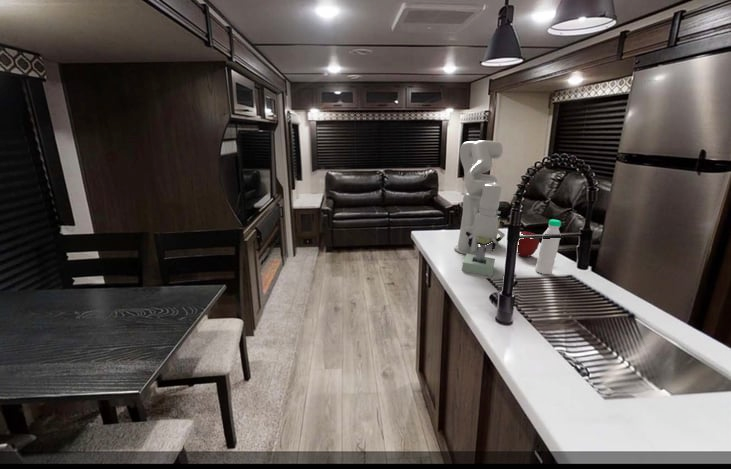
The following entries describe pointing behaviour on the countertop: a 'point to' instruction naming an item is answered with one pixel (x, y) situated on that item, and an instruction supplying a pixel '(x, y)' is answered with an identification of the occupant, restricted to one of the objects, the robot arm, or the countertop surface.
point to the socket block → (478, 265)
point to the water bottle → (548, 249)
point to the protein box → (487, 240)
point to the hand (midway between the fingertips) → (481, 248)
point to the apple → (527, 245)
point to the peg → (480, 253)
